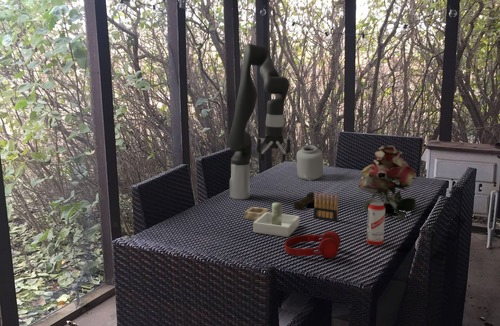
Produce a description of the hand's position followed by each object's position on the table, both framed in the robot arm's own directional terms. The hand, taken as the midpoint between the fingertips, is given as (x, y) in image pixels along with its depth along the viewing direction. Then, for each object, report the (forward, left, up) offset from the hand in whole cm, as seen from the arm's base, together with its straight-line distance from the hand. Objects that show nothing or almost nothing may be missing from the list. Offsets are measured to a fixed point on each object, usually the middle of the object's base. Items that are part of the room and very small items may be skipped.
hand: (272, 162), depth 213 cm
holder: (-7, -1, -25) cm, 26 cm away
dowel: (+6, -12, -25) cm, 28 cm away
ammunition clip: (+22, +7, -25) cm, 34 cm away
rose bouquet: (+44, +32, -25) cm, 60 cm away
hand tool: (+8, +25, -26) cm, 36 cm away
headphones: (+26, -30, -26) cm, 47 cm away
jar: (-4, +74, -25) cm, 78 cm away
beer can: (+46, -14, -25) cm, 55 cm away
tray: (+6, -12, -25) cm, 29 cm away
